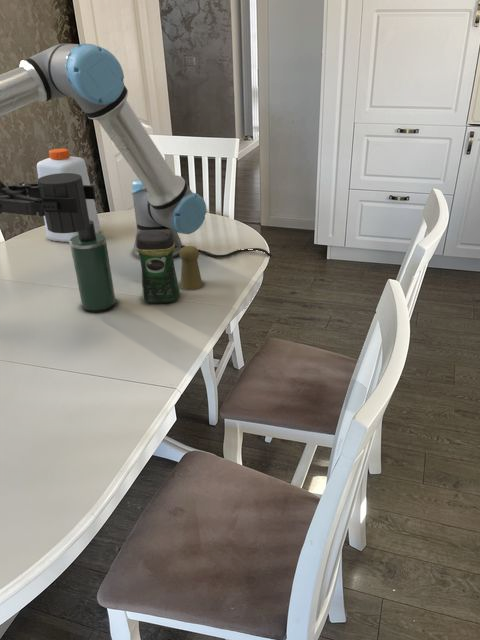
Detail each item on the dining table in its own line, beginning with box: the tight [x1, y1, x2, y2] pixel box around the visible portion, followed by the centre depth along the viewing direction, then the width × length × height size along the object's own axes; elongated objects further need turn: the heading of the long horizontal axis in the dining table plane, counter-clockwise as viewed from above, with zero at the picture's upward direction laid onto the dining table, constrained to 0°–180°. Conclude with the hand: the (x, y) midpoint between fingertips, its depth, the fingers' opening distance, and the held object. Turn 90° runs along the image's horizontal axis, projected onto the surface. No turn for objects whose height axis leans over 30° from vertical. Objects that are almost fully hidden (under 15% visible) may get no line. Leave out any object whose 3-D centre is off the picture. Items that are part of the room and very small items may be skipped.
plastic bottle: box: [36, 148, 102, 244], centre depth 179 cm, size 15×15×28 cm
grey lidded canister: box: [37, 173, 90, 233], centre depth 112 cm, size 8×8×10 cm
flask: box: [69, 220, 117, 314], centre depth 135 cm, size 8×8×22 cm
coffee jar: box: [135, 229, 181, 304], centre depth 140 cm, size 10×8×19 cm
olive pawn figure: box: [178, 245, 203, 291], centre depth 149 cm, size 6×6×11 cm
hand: (85, 198), depth 111 cm, fingers closed on grey lidded canister, 9 cm apart
